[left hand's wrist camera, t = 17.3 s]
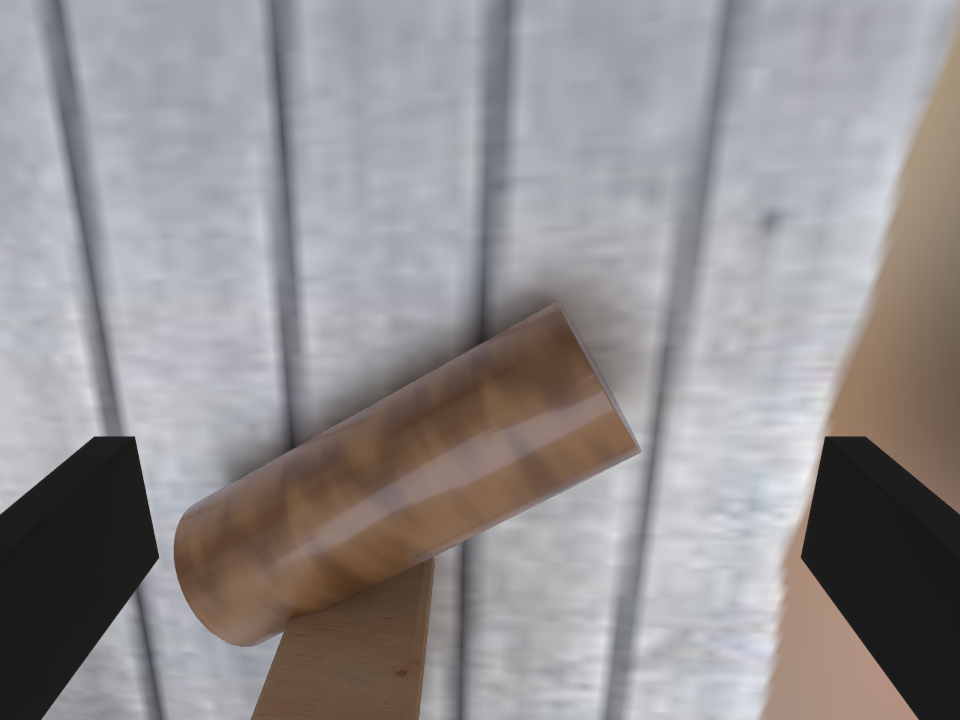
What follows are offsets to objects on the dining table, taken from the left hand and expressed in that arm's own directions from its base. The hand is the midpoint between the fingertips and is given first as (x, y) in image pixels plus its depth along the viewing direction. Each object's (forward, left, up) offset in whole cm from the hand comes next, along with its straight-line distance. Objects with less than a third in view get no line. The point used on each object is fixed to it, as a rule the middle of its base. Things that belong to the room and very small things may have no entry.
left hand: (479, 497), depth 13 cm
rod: (+10, +1, -24) cm, 26 cm away
